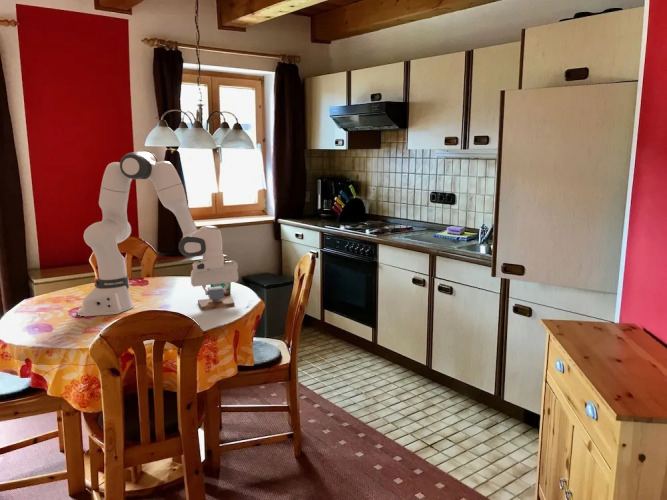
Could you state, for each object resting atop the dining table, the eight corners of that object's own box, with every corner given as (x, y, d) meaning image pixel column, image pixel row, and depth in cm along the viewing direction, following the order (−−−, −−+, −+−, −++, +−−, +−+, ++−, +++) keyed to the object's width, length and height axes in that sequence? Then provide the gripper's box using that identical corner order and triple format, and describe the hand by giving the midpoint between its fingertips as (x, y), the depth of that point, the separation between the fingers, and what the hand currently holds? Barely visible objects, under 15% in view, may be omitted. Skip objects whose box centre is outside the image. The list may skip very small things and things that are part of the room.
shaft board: (201, 310, 229) (201, 300, 228) (198, 303, 240) (197, 293, 239) (234, 306, 234) (234, 296, 233) (229, 299, 245) (228, 289, 244)
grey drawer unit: (210, 299, 231) (209, 290, 231) (208, 296, 237) (207, 287, 236) (224, 297, 234) (223, 288, 233) (222, 294, 239) (221, 285, 238)
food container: (218, 299, 245) (217, 278, 243) (209, 297, 249) (208, 276, 247) (238, 293, 255) (237, 272, 253) (229, 291, 258) (228, 271, 256)
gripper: (236, 258, 239) (238, 289, 242) (188, 263, 232) (191, 294, 234) (238, 261, 233) (240, 292, 236) (190, 266, 226) (193, 298, 229)
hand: (215, 293), depth 235 cm, fingers closed on grey drawer unit, 6 cm apart
